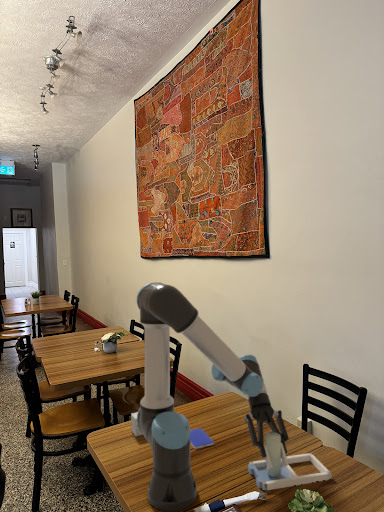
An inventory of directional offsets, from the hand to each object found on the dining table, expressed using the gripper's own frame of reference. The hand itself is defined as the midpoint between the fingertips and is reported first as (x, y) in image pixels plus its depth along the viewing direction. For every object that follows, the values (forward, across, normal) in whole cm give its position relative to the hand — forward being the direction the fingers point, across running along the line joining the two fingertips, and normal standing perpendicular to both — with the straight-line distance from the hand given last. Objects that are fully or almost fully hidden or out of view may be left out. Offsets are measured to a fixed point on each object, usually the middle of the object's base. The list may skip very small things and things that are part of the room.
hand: (278, 466), depth 117 cm
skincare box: (-28, +41, -36) cm, 61 cm away
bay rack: (+1, -6, -6) cm, 9 cm away
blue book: (-19, +19, -28) cm, 38 cm away
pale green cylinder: (0, 0, -5) cm, 5 cm away
